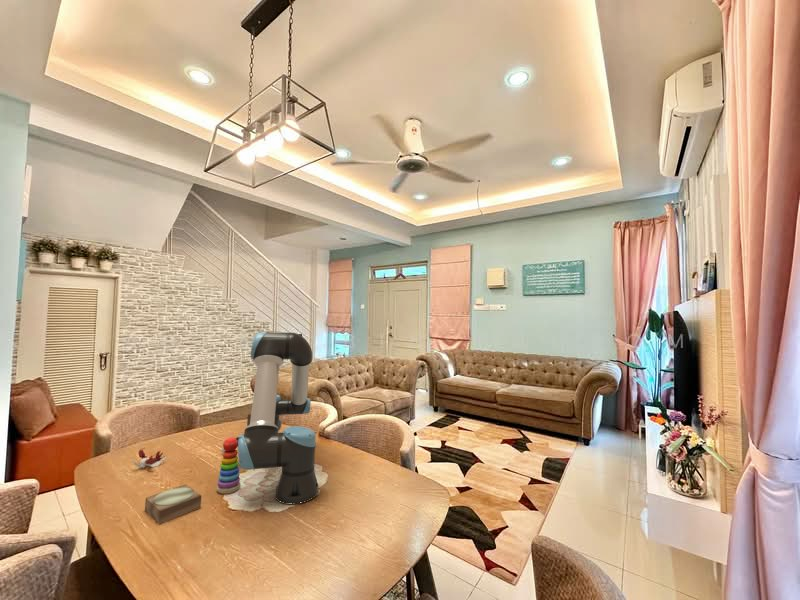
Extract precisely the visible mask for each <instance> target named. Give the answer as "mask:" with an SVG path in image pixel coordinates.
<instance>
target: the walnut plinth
mask: <svg viewBox="0 0 800 600" xmlns="http://www.w3.org/2000/svg"><path fill="white" fill-rule="evenodd" d="M201 505H202V495H201V494H200V493H198V491H196V490H194V489H193V488H191V487H190V486H189V485H188V484H183V485H180V486H177V487H174V488H172V489H171V488H170V489H168V490H164V491H162V492H160V493H156V494H154V495H150V496H147V497H145V502H144V511H145V512H146V514H148V515H149V516H150V517H151V518H152V519H153V520H154V521H155V520H156V521H157V522H158V523H159V524H158V523H157V522H156V521H155V522H156V523H157V524H158V525H161V524H163V523H162V522H164V523H166V522H169V521H171V520H174V519H177V518H179V517H181V516H184V515H186V514H189V513H191V512H193V510H194V511H196V510H198V508H199V509H201V508H202V507H201ZM188 512H189V513H188ZM168 520H169V521H168ZM165 521H166V522H165Z"/></svg>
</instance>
